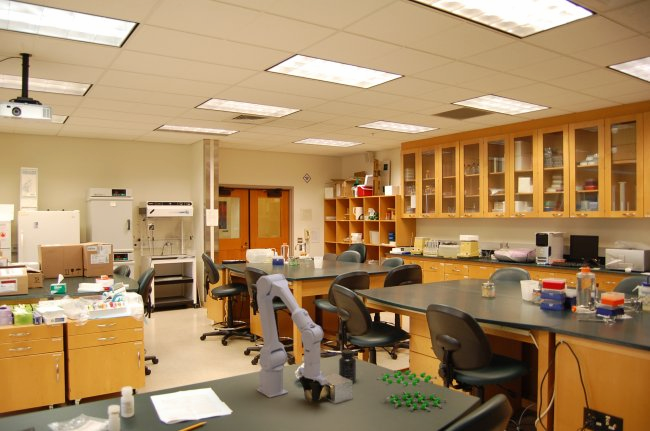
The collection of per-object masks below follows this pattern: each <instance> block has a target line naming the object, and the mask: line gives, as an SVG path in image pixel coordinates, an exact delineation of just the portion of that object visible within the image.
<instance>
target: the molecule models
mask: <svg viewBox="0 0 650 431" xmlns="http://www.w3.org/2000/svg"><path fill="white" fill-rule="evenodd" d="M411 372H412V370H411V369H408V370H405V371H404V372H402V371H401V370H396V369H394V370H393V373H394V374H389V373H385V372H381V376H382V378H381V377H376V378H375V380H376V381H383V382H386V383H385V385H386V386H387V387H388V386H389V385H393V383H397V384H398V385H401V384H402V388H406V387H408V385H412V386H414V387H415V386H418V387H419V388H420V387H422V384H421V383H420V382H424V383H430V384H431V385H432V384H434V381H433V380H431V379H434V380H437V379H438V377H437V375H436V376H432V375H430V374H429V375H426V374H427V373H426V372H425V371H424V372H421V373H420V374H417V373H415V372H413V373H411ZM404 375H406V376H404ZM418 376H420V377H418ZM390 377H393V378H394V379H397V380H392V379H389V378H390ZM421 378H422V379H421ZM407 379H408V380H409V381H412V382H408V381H406V380H407ZM420 393H421V391H420V390H418V391H415V392H414V393H411V392H406V391H405V390H403V391H402V394H403V395H402V396H398V395H397V394H395V395H394V394H393V393H391V394H390V397H391V398H390V399H387V398H385V399H384V402H385V403H386V402H390V403H391V404H394V403H395V404H394V406H395V408H398V407H399V406H401V405H405V406H410V408H409V409H410V410H411V411H413V410H417V408H421V410H426V411H428V412H430V410H431V408H430V407H428V406H429V405H432V406H434V407H439V408H442V407H443V405H442V404H439V403H441V402H447V398H442V399H441V398H440V397H435V396H436V393H435V392H433V393H432V394H430V395H429V396H426V395H425V394H420ZM411 396H414V397H415V398H417V399H414V398H413V397H411ZM398 399H402V400H404V401H405V402H401V401H400V400H398ZM425 399H430V400H431V401H432V400H434V401H432V402H429V401H428V400H425ZM424 400H425V401H424ZM414 402H418V403H420V404H421V403H422V404H421V405H417V404H416V403H414Z"/></svg>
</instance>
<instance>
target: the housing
mask: <svg viewBox="0 0 650 431" xmlns="http://www.w3.org/2000/svg"><path fill="white" fill-rule="evenodd" d="M323 376H324V375H323ZM324 377H325V378H326V379H327V384H325V385H329V386H331V396H329V397H325V398H324V399H325V400H327V401H329V402H331V403H333V404H339V403H342V402H346V401H349V400H352V399H353V383H352V380H349V379H347V378H345V377H342V376H340V375H339V373H332V374H329V375H328V374H327V375H325V376H324Z"/></svg>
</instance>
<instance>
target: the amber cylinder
mask: <svg viewBox="0 0 650 431" xmlns="http://www.w3.org/2000/svg"><path fill="white" fill-rule="evenodd" d="M303 394H304V395H303V397H304V399H305V401H306V402H307V403H312V402H313V398H312V390H311V389H309V390H306V391H305V393H303ZM329 396H331V386H329V385H324V387H323V389H322V391H321V395H320V399H321V400H322V399H325V397H329ZM320 399H319V400H320Z"/></svg>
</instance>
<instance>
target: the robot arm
mask: <svg viewBox="0 0 650 431" xmlns="http://www.w3.org/2000/svg"><path fill="white" fill-rule="evenodd" d="M255 285H256V290H257V293H256V301H257V307H258V312H259V314H258V315H259V320H260V326H261V332H262V340H263V345H262V347H261V348H260V350H259V360H258V361H259V365H260V371H259V377H258V378H259V381H258V382H259V387H258V388H257V391H258V392H260V393H262V394H263V395H264V396H266V397H268V398H273V397H277V396H281V395H285V394H288V393H289V392H288V390H286V389H284V368H285V364H286V363H287V361H288V353H287V352H286V350H285V346H284V344H283V343H282V342H280V341H279V335H278V329H277V328H278V327H277V324H276V323H277V322H276V318H275V312H274V311H275V310H274V306H273V299H274V298H275V297H278V298H280V300H281V301H282V302H283V303H284V305H285V306H286V307H287V309H288V310H289V311H290V313H291V320H292V321H293V323H294V325H295V327H297V329H298V331H299V332H300V334H301V335H300V340H301V342H302V345H303V347H302V348H303V351H304V352H303V353H304V354H303V355H304V356H303V359H304V360H303V367H300V368H298V375H302V376H301V377H298V379H299V382H300V383H301V386H302V389H303V392H304V393H305V391H306V390H309V389H311V390H312V398H313V401H312V402H313V403H317V402H319V401H320V395H321V391H322V389H323V387H324V385H325V384H327V379H326V378H325V377H324V375H323V373H324V372H323V371H321V341H322V340H323V338H324V334H325V332H324V331H323V328H322V326H320V325H318V324H316V323H315V322H314V321H313V320H312V318H311V316H310V315H309V312H308V311H307V310H306V309H305V308H301V307H300V305H299V303H298V302H297V300H296V298H295V296H294V295H293V293H292V291H291V290H290V288H289V281H288V280H287V278H286V277H285V275H284V274H282V273H279V272H278V273H275V274H269V275H268V274H267V275H262V276H260V277H259V278H258V280H256V284H255ZM304 393H303V394H304Z"/></svg>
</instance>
